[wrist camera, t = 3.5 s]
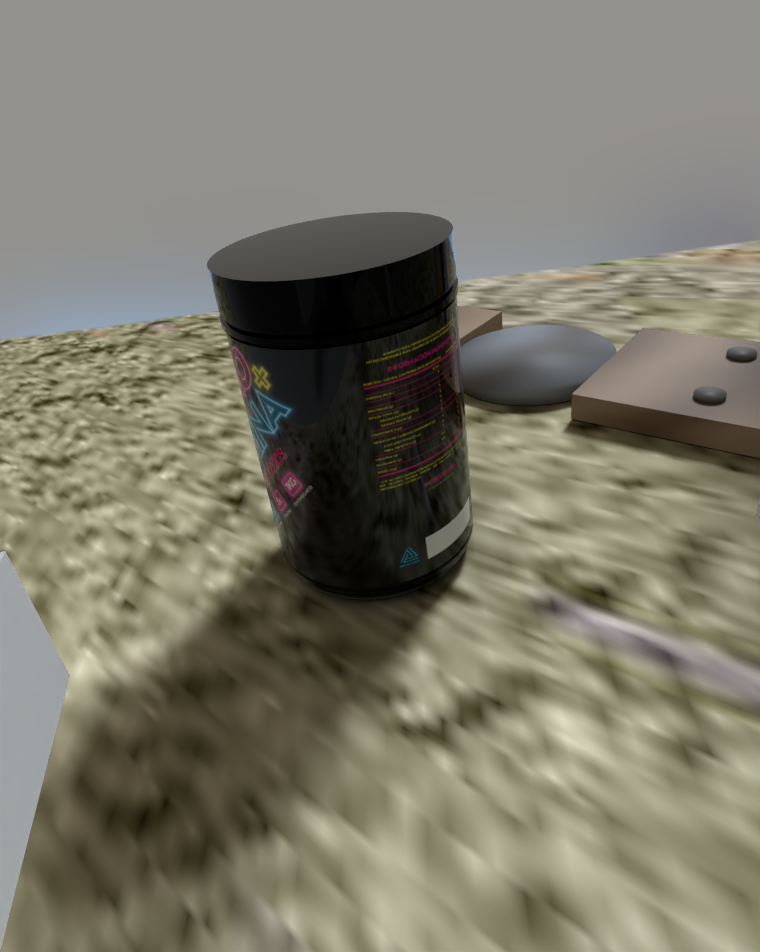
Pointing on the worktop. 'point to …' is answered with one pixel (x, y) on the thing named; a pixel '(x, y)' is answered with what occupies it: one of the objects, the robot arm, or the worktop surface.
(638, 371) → the hinge leaves
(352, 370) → the supplement container
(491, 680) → the worktop surface
